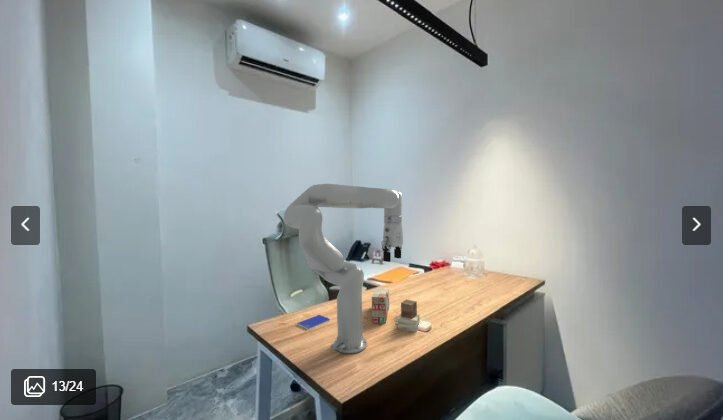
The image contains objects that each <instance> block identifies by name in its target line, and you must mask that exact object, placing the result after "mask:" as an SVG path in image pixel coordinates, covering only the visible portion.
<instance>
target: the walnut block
mask: <svg viewBox="0 0 723 420" xmlns="http://www.w3.org/2000/svg"><path fill="white" fill-rule="evenodd" d="M417 302H418V301H415V300H411V299H405V300H403V301H402V302H400V314H401V317H405V318H409V319H413V318H414V317H415V316H416V315H417V313H418V310H417V309H418V307H417V306H418V303H417Z"/></svg>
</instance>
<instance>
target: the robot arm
mask: <svg viewBox="0 0 723 420" xmlns="http://www.w3.org/2000/svg"><path fill="white" fill-rule="evenodd" d="M402 201H403V196H402V192H400V191H397V190H395V189H390V188H378V187H367V186H357V185H356V186H355V185H346V184H337V183H336V184H335V183H321V184H320V183H319V184H318V183H316V184H313V185H311V186H310V187H308V188H307V189H305V190H304V191H303V192H302V193H301V194H300V195H299V196H298V197H297V198H296V199H295V200H293V202H291V203H290V204H289V205H288V206H287V207H286V209H285V211H284V214H283V221H284V222H285V223H286V225H287V226H288V227H290V228H293V229H298V242H299V243H298V244H299V246H300V248H301V250H302V251H303V252H304V254H305V260H306V263H307V265H308V266H309V268H310V269H312V271H314V272H315V273H316V274H317V275H319V276H320V277H322V278H323V279H324V280H325V281H326V282H327V283H329V284H332V285H335V286H338V287H339V292H338V294H337V297H336V317H337V318H336V320H337V321H336V322H337V323H336V325H337V336H336V339H335V340H334V341H333V344H332V345H330V350H332V351H337V352H339V353H342V354H356V353H359V352H362V351H364V350H365V349H366V347H367V346H368V341H367V339H366V338H365V337H364V336H363V333H364V332H363V299H362V298H363V286H364V280H365V274H364V271H363V269H362V268H361V267H360V266H359V265H357V264H355V263H352V262H347V261H345V258H344V256H343V255H344V254H342V252H341V251H340V250H339V249H338V248H337V247H335V245H334V244H332V242H330V241H329V240H328V238H326V237H325V235H324V233H323V230H322V229H323V228H322V224H323V215H322V212H321V210H320V209H319V208H331V209H332V208H336V209H337V208H338V209H370V208H371V209H383V223H384V225H383V235H382V236H383V237H382V241H381V244H380V245H381V249H382V253H383V254H382V255H383V257H382V260H383V262H387V263H390V262H392V261H391V253H392V252H391V250H392V248H394V249H393V250H394V251H393V255H394V256H393V258H394V259H401V258H402V245H403V244H404V240H403V239H404V236H403V234H404V233H403V232H404V231H403V225H402V217H403V216H402V215H403V214H402V210H403V205H402V204H403V203H402Z"/></svg>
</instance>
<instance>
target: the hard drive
mask: <svg viewBox="0 0 723 420" xmlns="http://www.w3.org/2000/svg"><path fill="white" fill-rule="evenodd" d="M330 321H331V319H330V318H329V317H326V316H323V315H321V314H318V315H315V316H312V317H309V318H307V319H305V320H302V321H299V322H297V324H296V325H297V326H299V327H301V328H303V329H306V330H307V331H310V330H312V329H314V328H316V327H319V326H323V325H324V324H326V323H328V322H330Z"/></svg>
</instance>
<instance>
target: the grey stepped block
mask: <svg viewBox="0 0 723 420" xmlns="http://www.w3.org/2000/svg"><path fill="white" fill-rule="evenodd" d="M420 316H421V315H420V313H419V312H417V315H416V316H415V317H414V318H413V319H409V318H405V317H401V313H399V315H398V317H397V330H399V331H406V332H407V331H408V332H414V333H418V330H419V328H418V325H419V323H420V324H421V321H420V320H421V318H420ZM419 326H420V325H419Z"/></svg>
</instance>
